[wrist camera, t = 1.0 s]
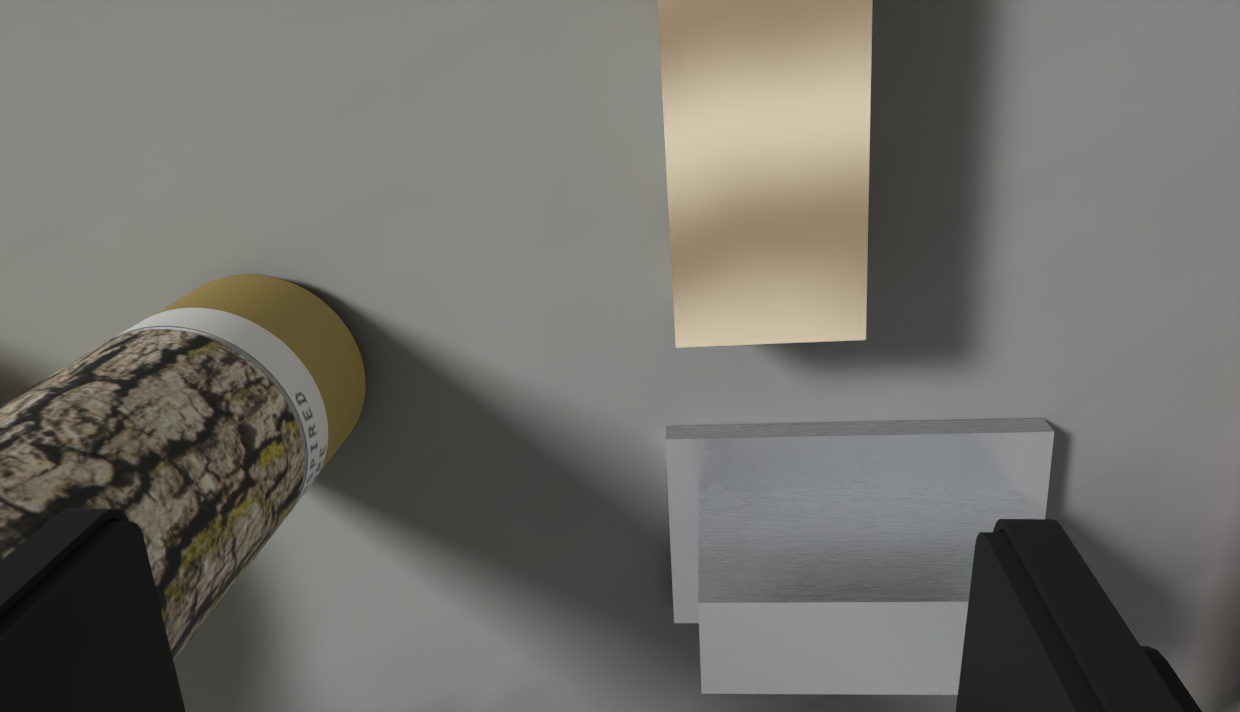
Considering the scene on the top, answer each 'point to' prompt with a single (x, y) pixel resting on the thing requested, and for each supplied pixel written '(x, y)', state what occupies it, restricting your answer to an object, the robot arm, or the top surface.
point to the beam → (767, 168)
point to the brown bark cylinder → (189, 433)
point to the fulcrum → (841, 546)
